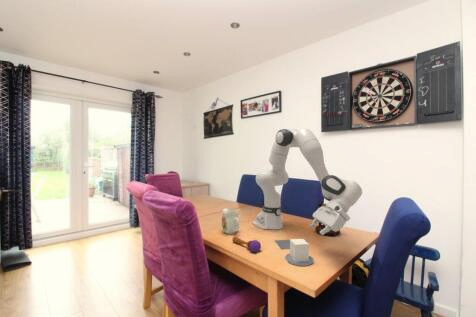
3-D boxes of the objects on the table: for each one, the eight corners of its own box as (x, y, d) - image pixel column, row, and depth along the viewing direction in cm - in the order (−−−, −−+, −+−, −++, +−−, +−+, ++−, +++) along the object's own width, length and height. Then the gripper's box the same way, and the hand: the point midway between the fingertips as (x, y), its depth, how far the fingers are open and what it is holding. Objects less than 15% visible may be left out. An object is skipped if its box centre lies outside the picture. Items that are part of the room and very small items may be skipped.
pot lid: (279, 258, 111) (279, 252, 111) (297, 251, 119) (297, 245, 119) (301, 269, 101) (301, 262, 101) (319, 261, 108) (319, 254, 108)
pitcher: (231, 238, 138) (230, 215, 138) (216, 230, 153) (216, 209, 153) (246, 235, 144) (246, 213, 144) (231, 227, 159) (231, 207, 159)
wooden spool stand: (342, 231, 150) (342, 200, 149) (337, 238, 137) (337, 204, 137) (318, 227, 158) (318, 198, 158) (312, 233, 146) (312, 202, 145)
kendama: (239, 233, 135) (263, 241, 119) (238, 244, 134) (262, 253, 118) (231, 234, 131) (255, 241, 116) (229, 245, 130) (254, 254, 115)
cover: (290, 255, 113) (289, 239, 112) (302, 255, 113) (302, 238, 113) (295, 262, 106) (295, 244, 106) (308, 261, 107) (308, 243, 107)
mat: (274, 241, 133) (274, 240, 133) (295, 240, 135) (295, 239, 135) (281, 250, 120) (281, 249, 120) (305, 249, 122) (305, 248, 122)
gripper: (320, 200, 122) (302, 219, 121) (343, 209, 101) (321, 233, 100) (328, 208, 122) (311, 228, 121) (352, 219, 102) (331, 242, 101)
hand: (316, 230), depth 111 cm, fingers open, 8 cm apart
